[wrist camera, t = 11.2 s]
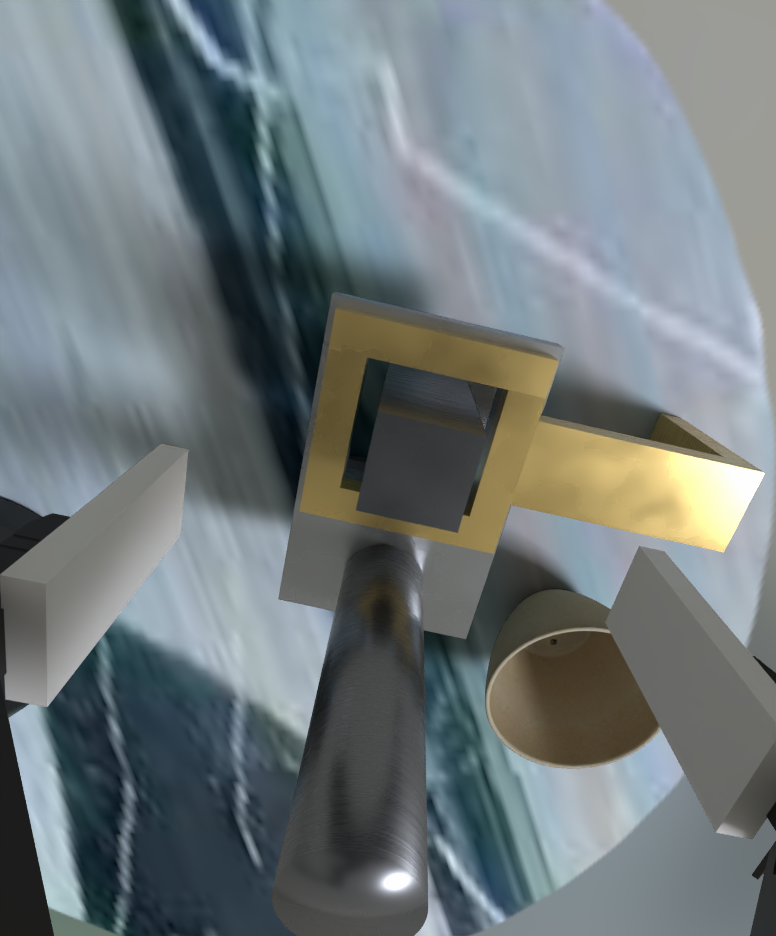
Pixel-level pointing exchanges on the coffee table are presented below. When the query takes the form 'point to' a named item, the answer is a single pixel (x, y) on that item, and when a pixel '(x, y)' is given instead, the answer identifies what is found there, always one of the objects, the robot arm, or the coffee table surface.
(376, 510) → the dark grey block
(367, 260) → the coffee table surface
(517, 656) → the flower pot
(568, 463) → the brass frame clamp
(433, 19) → the coffee table surface
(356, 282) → the coffee table surface
